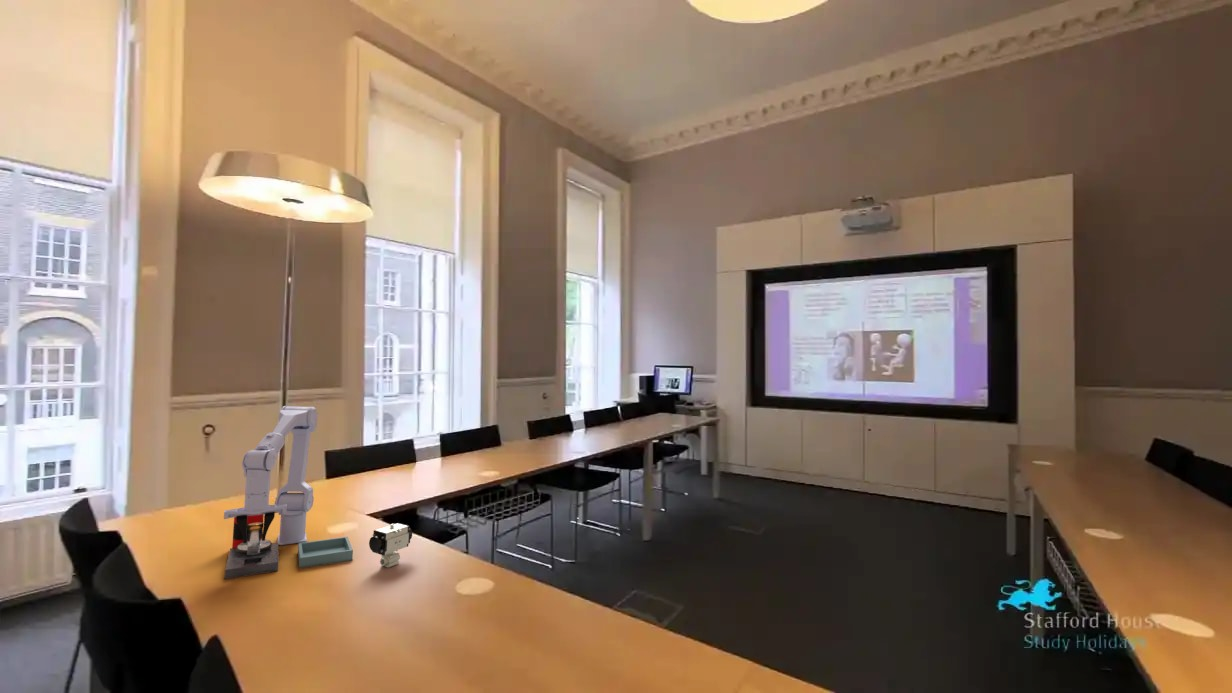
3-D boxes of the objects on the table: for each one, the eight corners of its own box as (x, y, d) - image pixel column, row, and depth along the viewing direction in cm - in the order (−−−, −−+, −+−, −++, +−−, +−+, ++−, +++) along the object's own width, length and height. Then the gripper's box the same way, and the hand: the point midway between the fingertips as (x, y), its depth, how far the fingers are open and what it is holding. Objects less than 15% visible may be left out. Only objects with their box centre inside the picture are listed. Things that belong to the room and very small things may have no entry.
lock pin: (245, 551, 146) (247, 523, 146) (261, 549, 148) (263, 521, 149) (244, 556, 143) (246, 527, 143) (261, 554, 145) (263, 525, 145)
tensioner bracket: (229, 556, 154) (230, 538, 154) (277, 550, 160) (278, 532, 161) (224, 579, 139) (226, 558, 139) (277, 570, 145) (279, 551, 146)
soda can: (225, 550, 158) (228, 511, 159) (248, 542, 166) (251, 505, 166) (245, 554, 157) (247, 514, 157) (267, 545, 164) (270, 507, 164)
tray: (297, 552, 159) (298, 543, 159) (347, 545, 166) (347, 536, 167) (299, 568, 148) (300, 557, 148) (352, 560, 155) (352, 550, 155)
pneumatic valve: (367, 570, 149) (369, 528, 149) (400, 557, 159) (402, 518, 159) (379, 574, 146) (382, 531, 146) (413, 561, 156) (415, 521, 157)
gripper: (224, 498, 139) (220, 549, 138) (287, 493, 147) (284, 541, 146) (226, 492, 145) (223, 541, 144) (287, 487, 153) (284, 533, 152)
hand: (254, 540), depth 146 cm, fingers closed on lock pin, 4 cm apart
